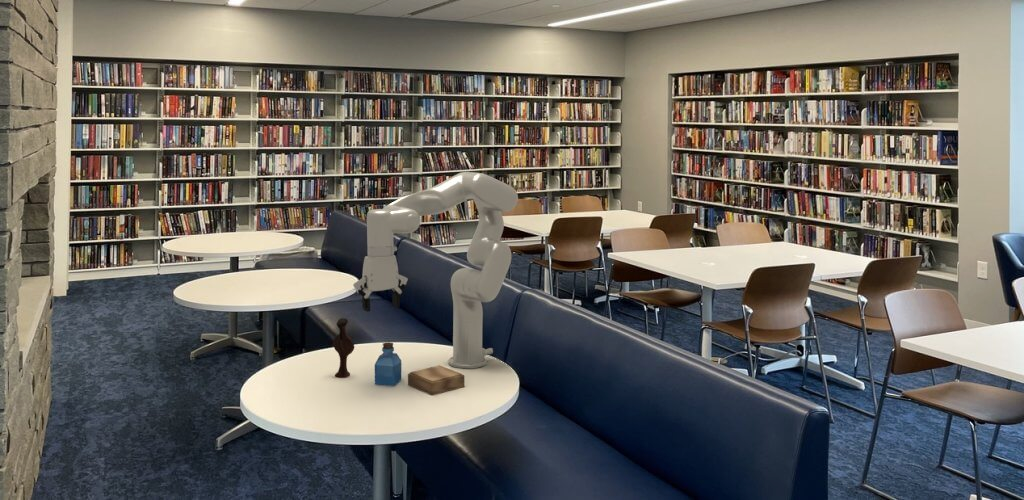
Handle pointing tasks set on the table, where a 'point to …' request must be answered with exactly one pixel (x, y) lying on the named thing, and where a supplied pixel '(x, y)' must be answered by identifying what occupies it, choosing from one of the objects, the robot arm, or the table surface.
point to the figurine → (343, 348)
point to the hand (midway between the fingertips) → (381, 308)
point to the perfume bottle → (388, 367)
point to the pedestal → (435, 380)
